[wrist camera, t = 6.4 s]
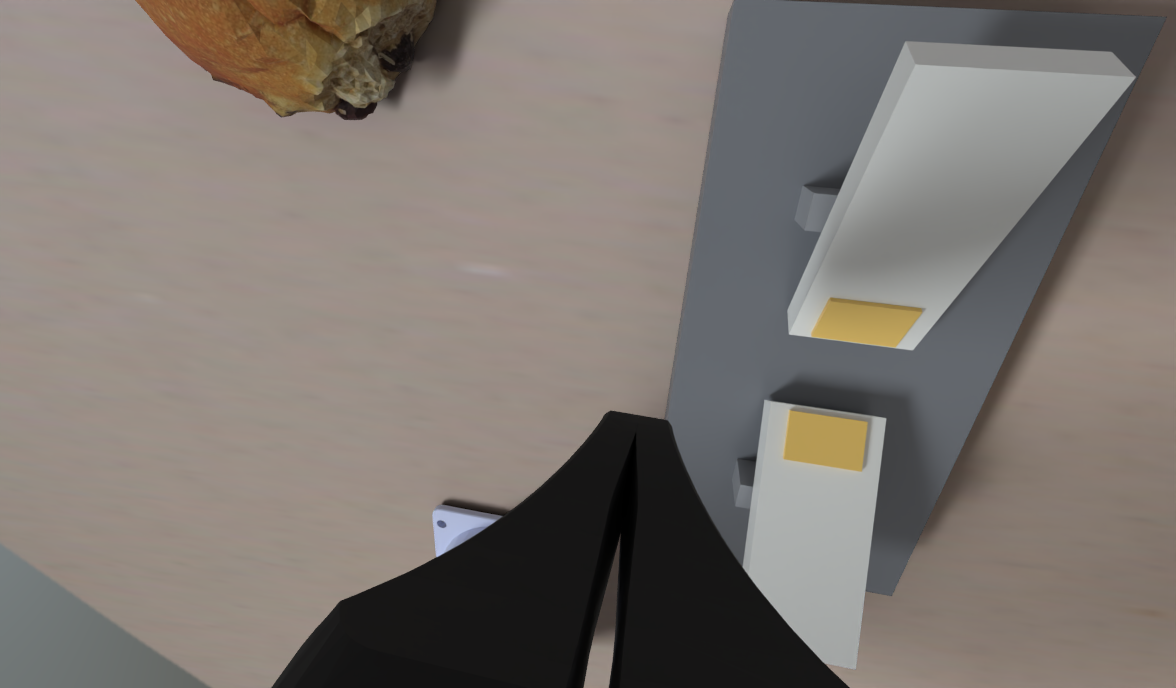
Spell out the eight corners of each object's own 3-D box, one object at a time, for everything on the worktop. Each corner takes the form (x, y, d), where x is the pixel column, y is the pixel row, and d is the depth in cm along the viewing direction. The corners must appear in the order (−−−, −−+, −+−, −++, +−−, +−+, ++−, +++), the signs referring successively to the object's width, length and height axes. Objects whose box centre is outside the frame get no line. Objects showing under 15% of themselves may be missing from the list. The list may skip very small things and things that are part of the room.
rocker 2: (906, 325, 16) (913, 354, 15) (787, 310, 16) (788, 338, 16) (1112, 51, 9) (1140, 80, 9) (905, 40, 10) (916, 68, 9)
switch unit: (876, 549, 23) (910, 631, 19) (650, 508, 24) (643, 577, 21) (1099, 32, 14) (1238, 5, 11) (728, 14, 16) (739, -15, 12)
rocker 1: (844, 652, 17) (857, 672, 16) (734, 629, 17) (740, 647, 16) (872, 415, 17) (888, 418, 16) (764, 399, 18) (772, 401, 17)
